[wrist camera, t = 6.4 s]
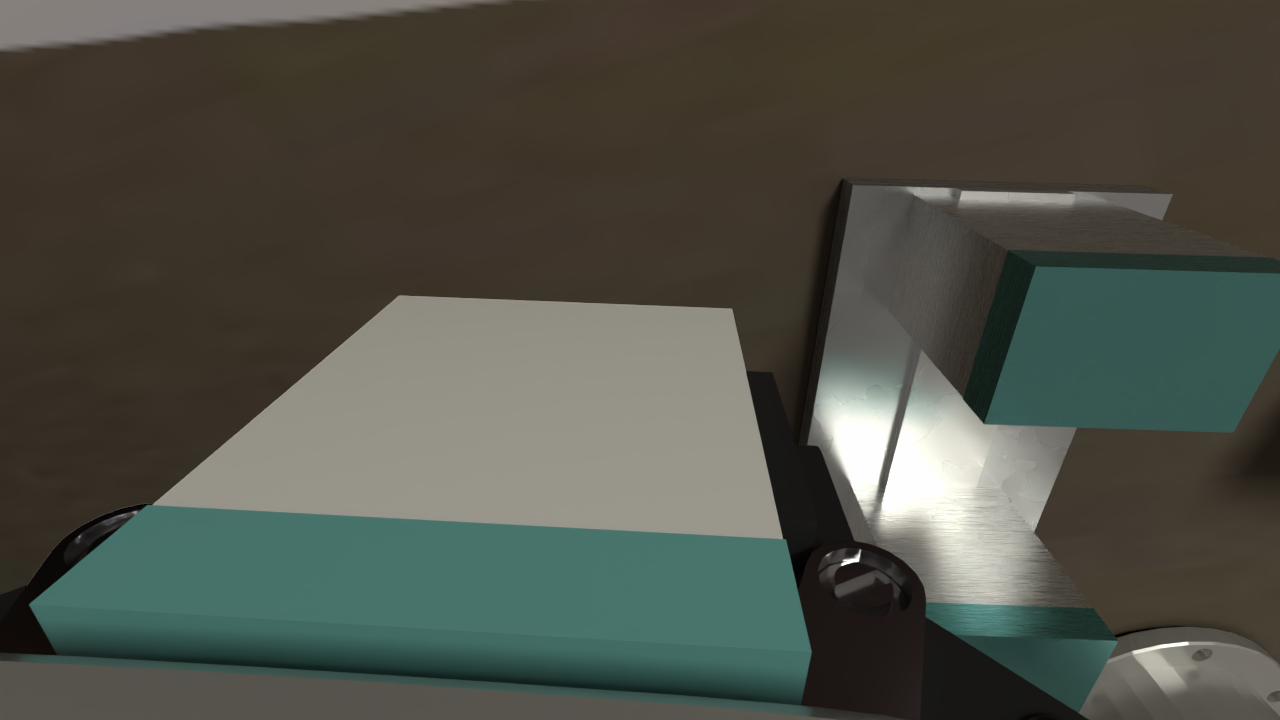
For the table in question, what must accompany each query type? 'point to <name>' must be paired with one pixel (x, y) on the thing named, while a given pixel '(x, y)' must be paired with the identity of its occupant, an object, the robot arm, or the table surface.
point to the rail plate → (1016, 382)
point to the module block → (475, 515)
